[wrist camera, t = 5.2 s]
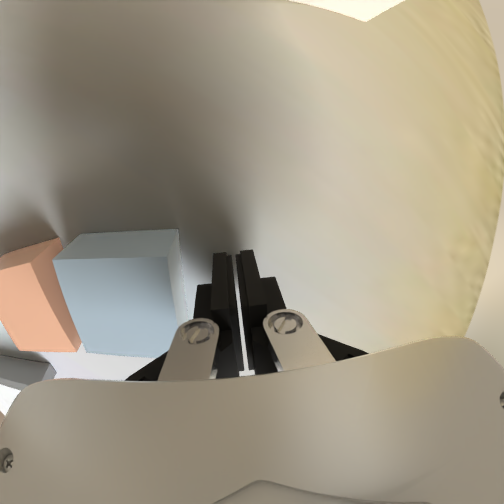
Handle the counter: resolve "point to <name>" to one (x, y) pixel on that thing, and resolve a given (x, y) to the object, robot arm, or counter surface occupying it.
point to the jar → (354, 7)
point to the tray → (23, 372)
